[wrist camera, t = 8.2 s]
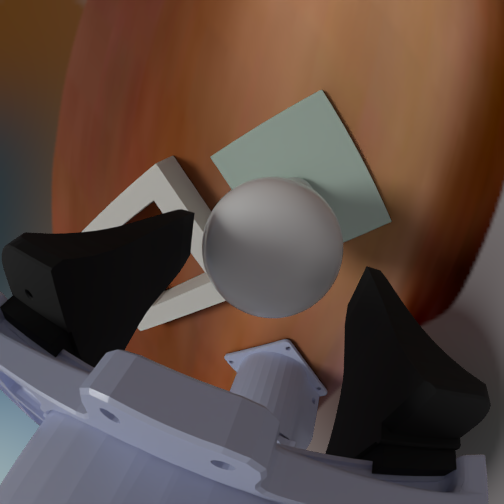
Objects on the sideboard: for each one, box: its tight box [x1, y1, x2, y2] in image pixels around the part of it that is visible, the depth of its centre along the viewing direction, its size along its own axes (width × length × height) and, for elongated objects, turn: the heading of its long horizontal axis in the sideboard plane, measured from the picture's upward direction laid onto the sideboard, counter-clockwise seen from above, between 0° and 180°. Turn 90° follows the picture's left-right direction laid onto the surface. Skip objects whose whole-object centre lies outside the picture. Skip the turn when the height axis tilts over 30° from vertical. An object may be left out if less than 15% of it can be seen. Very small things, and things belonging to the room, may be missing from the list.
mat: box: [211, 90, 392, 243], centre depth 20 cm, size 10×9×1 cm
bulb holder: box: [82, 156, 226, 331], centre depth 26 cm, size 12×14×2 cm
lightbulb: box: [202, 176, 343, 318], centre depth 16 cm, size 6×6×11 cm
